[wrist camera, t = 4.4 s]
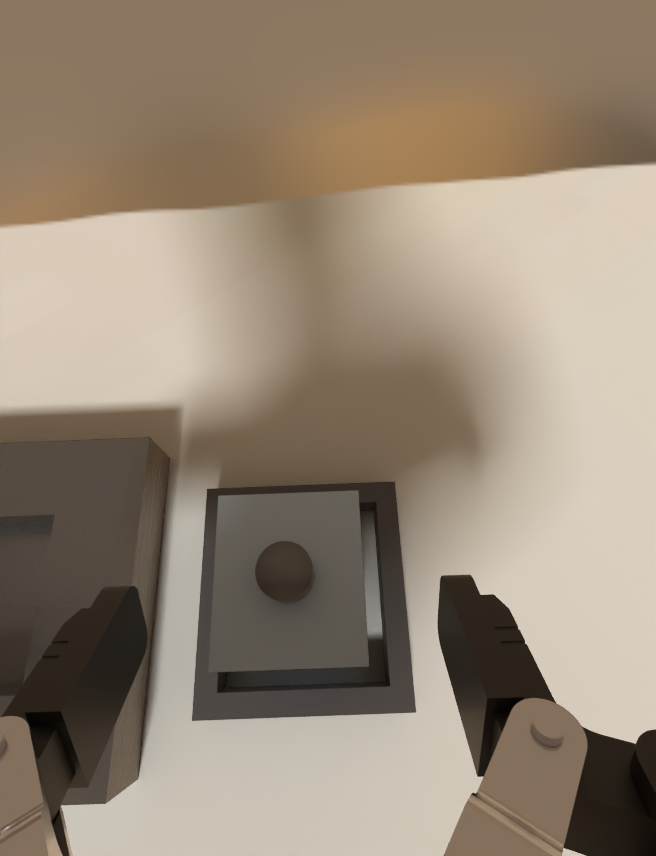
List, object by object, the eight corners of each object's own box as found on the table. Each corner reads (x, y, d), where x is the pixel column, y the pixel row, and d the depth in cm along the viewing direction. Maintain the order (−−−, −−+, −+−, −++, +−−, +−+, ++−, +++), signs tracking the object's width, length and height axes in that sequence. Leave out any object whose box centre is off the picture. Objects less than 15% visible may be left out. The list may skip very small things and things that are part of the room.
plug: (253, 657, 18) (194, 677, 11) (256, 538, 20) (207, 484, 12) (357, 653, 18) (372, 670, 11) (351, 535, 20) (360, 477, 12)
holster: (203, 713, 18) (192, 720, 16) (215, 498, 21) (207, 488, 19) (409, 705, 17) (416, 712, 16) (390, 491, 21) (394, 481, 19)
